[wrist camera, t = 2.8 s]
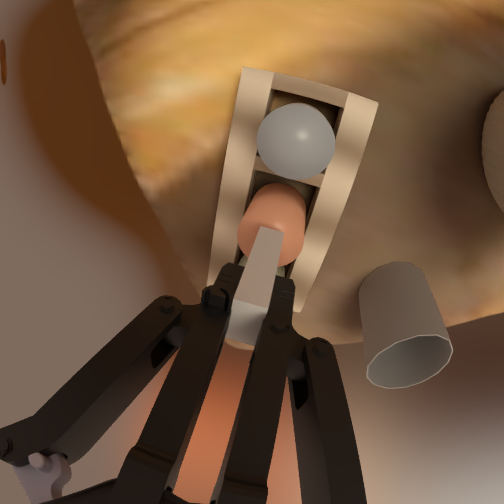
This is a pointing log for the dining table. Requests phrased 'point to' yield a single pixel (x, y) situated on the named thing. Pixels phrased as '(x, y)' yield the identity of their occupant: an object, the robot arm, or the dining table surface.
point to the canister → (494, 149)
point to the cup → (401, 327)
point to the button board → (327, 182)
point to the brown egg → (275, 220)
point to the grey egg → (296, 141)
